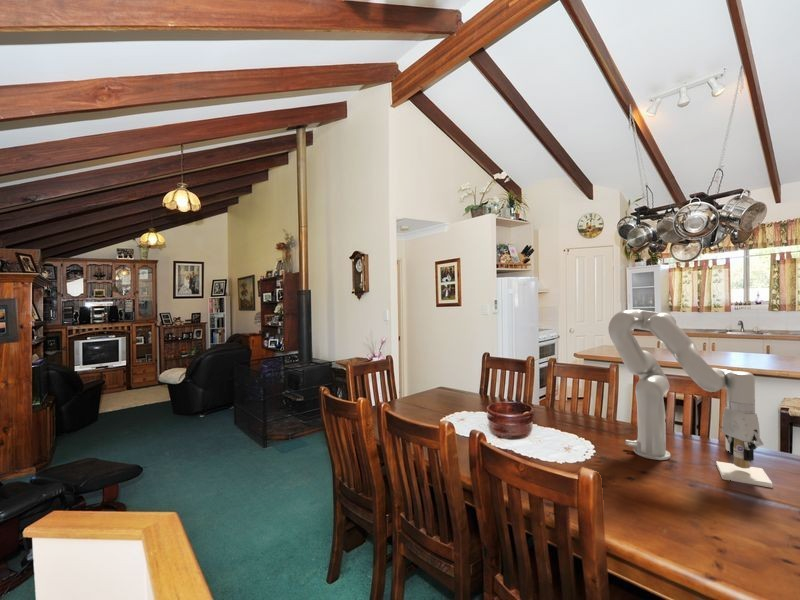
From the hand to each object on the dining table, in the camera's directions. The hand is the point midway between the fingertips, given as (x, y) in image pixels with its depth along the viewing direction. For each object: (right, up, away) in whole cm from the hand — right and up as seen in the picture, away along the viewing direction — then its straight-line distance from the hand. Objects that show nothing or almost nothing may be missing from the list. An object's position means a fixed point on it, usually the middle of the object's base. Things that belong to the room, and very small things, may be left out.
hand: (741, 456), depth 138 cm
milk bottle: (+17, -7, +20) cm, 27 cm away
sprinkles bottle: (0, -4, 0) cm, 4 cm away
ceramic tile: (0, -7, 0) cm, 7 cm away
